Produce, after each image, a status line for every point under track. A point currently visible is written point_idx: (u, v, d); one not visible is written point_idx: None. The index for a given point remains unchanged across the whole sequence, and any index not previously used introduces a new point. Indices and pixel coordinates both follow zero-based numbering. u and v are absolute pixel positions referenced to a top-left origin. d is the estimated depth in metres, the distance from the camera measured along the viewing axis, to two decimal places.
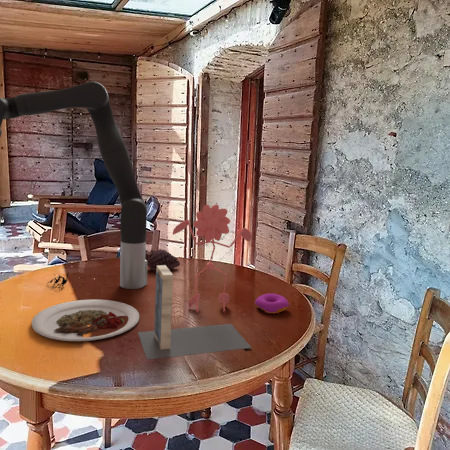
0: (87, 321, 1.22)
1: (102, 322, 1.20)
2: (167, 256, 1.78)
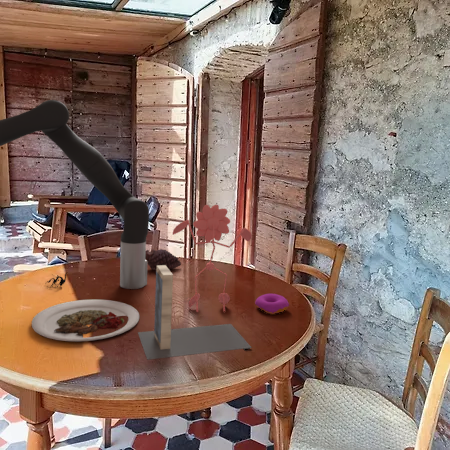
0: (87, 321, 1.22)
1: (102, 322, 1.20)
2: (168, 256, 1.78)
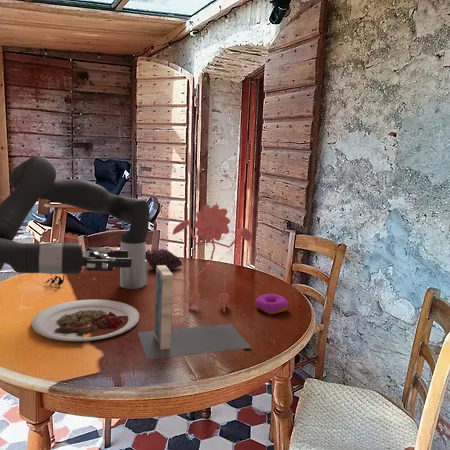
0: (87, 321, 1.22)
1: (102, 322, 1.20)
2: (169, 256, 1.78)
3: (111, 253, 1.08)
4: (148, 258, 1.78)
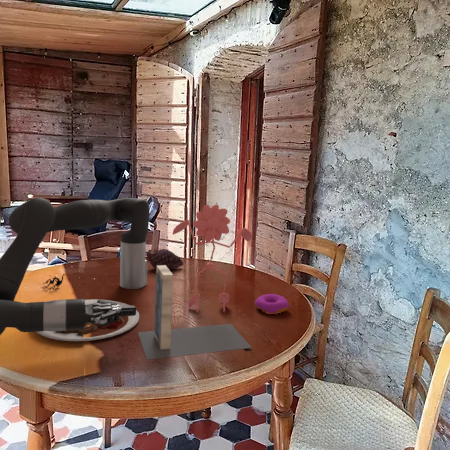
0: None
1: None
2: (170, 256, 1.79)
3: None
4: (149, 258, 1.78)
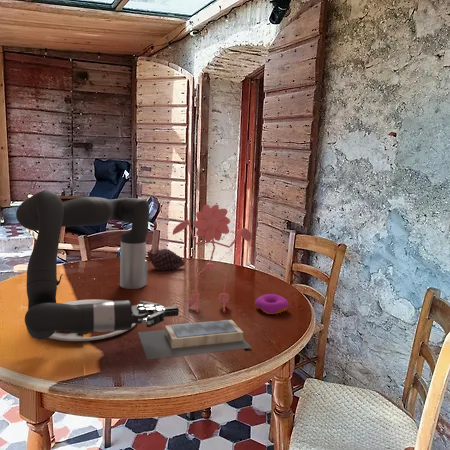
0: None
1: None
2: (171, 256, 1.79)
3: None
4: (151, 258, 1.79)
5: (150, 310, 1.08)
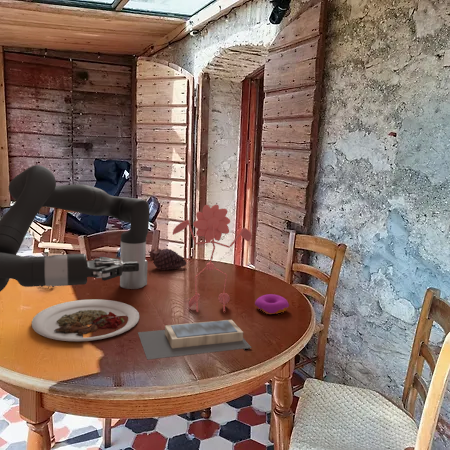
0: (87, 321, 1.22)
1: (102, 322, 1.20)
2: (173, 255, 1.80)
3: None
4: (152, 257, 1.80)
5: (107, 264, 1.03)
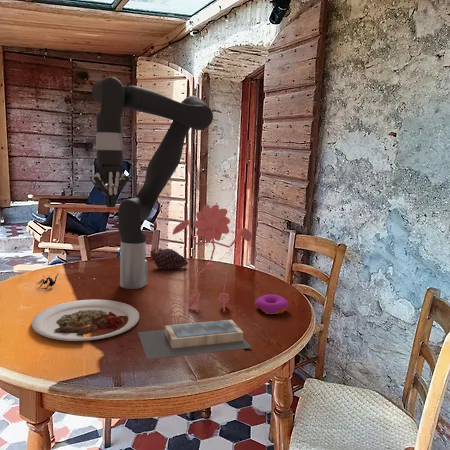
0: (87, 321, 1.22)
1: (102, 322, 1.20)
2: (174, 255, 1.80)
3: None
4: (153, 257, 1.80)
5: (108, 181, 1.23)
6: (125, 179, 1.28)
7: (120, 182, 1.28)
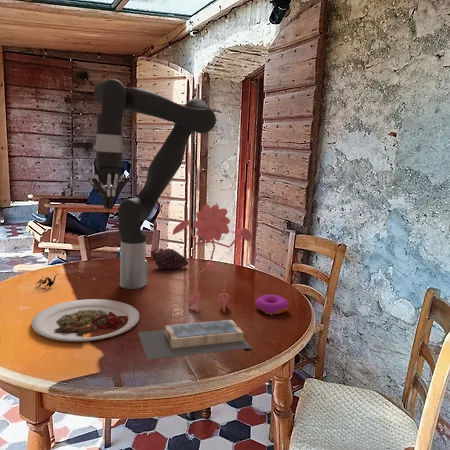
0: (87, 321, 1.22)
1: (102, 322, 1.20)
2: (175, 255, 1.80)
3: None
4: (154, 257, 1.80)
5: (106, 183, 1.23)
6: (124, 181, 1.28)
7: (119, 184, 1.28)
